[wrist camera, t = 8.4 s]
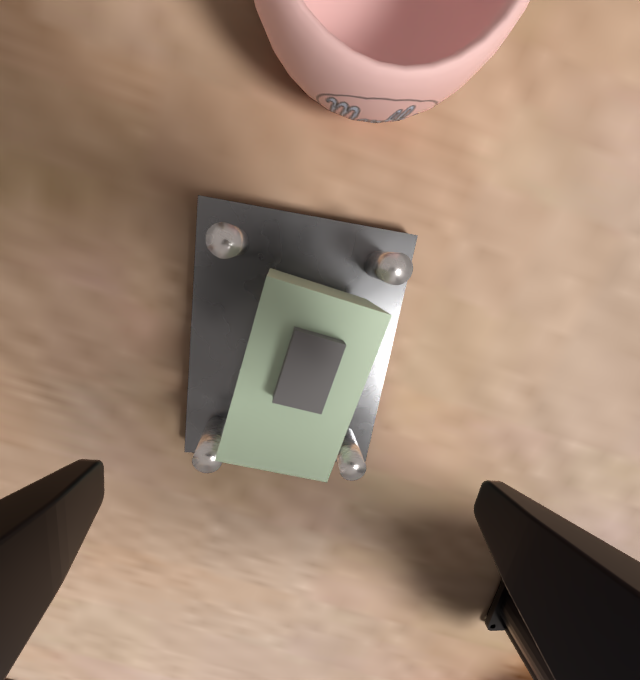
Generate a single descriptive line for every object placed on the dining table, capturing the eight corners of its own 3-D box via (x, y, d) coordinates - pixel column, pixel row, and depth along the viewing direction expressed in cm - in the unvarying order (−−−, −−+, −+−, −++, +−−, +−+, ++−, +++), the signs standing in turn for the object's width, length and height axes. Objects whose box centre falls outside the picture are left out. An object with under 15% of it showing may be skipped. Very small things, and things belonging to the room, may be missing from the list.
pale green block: (317, 432, 18) (329, 492, 14) (229, 412, 17) (211, 470, 13) (365, 298, 16) (397, 318, 12) (270, 268, 15) (265, 277, 11)
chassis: (361, 453, 21) (378, 498, 17) (189, 442, 20) (167, 489, 16) (410, 236, 18) (446, 233, 14) (202, 198, 16) (178, 183, 12)
